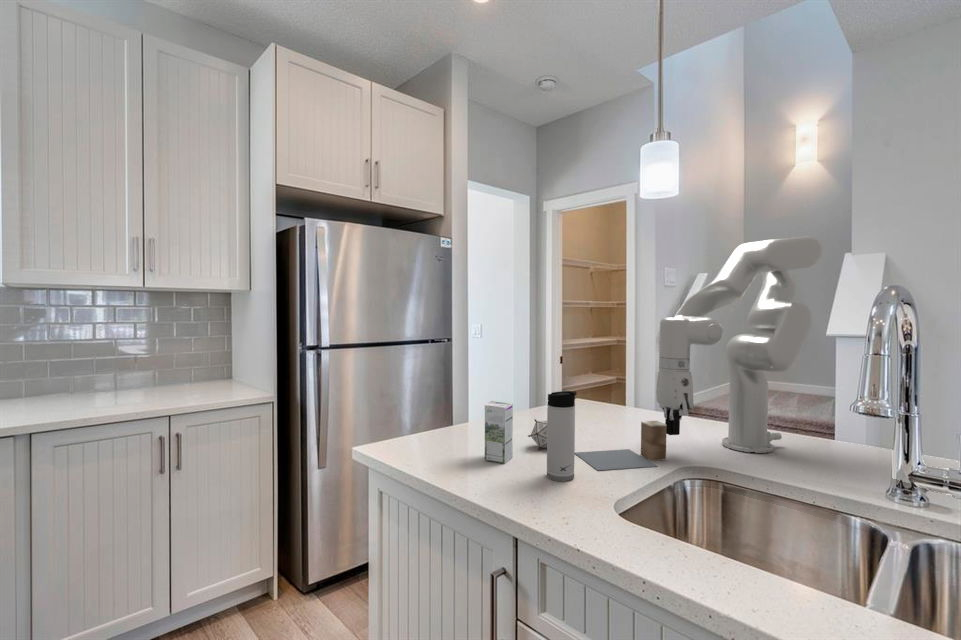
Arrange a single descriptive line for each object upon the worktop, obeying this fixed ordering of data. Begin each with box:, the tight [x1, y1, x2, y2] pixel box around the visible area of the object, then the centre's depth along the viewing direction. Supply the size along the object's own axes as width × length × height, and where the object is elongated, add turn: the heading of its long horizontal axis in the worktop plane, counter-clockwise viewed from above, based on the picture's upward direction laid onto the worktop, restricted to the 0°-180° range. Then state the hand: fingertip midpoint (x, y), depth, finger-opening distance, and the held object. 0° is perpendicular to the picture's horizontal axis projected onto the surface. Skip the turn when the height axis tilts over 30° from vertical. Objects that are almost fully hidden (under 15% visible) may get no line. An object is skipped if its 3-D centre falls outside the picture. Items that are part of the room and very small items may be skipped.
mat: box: [574, 448, 659, 472], centre depth 125 cm, size 16×14×1 cm
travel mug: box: [546, 390, 578, 482], centre depth 112 cm, size 6×7×20 cm
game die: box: [527, 418, 547, 451], centre depth 135 cm, size 9×8×10 cm
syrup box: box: [484, 400, 514, 464], centre depth 125 cm, size 6×6×14 cm
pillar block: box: [640, 420, 667, 461], centre depth 127 cm, size 4×4×9 cm
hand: (672, 434), depth 128 cm, fingers closed
